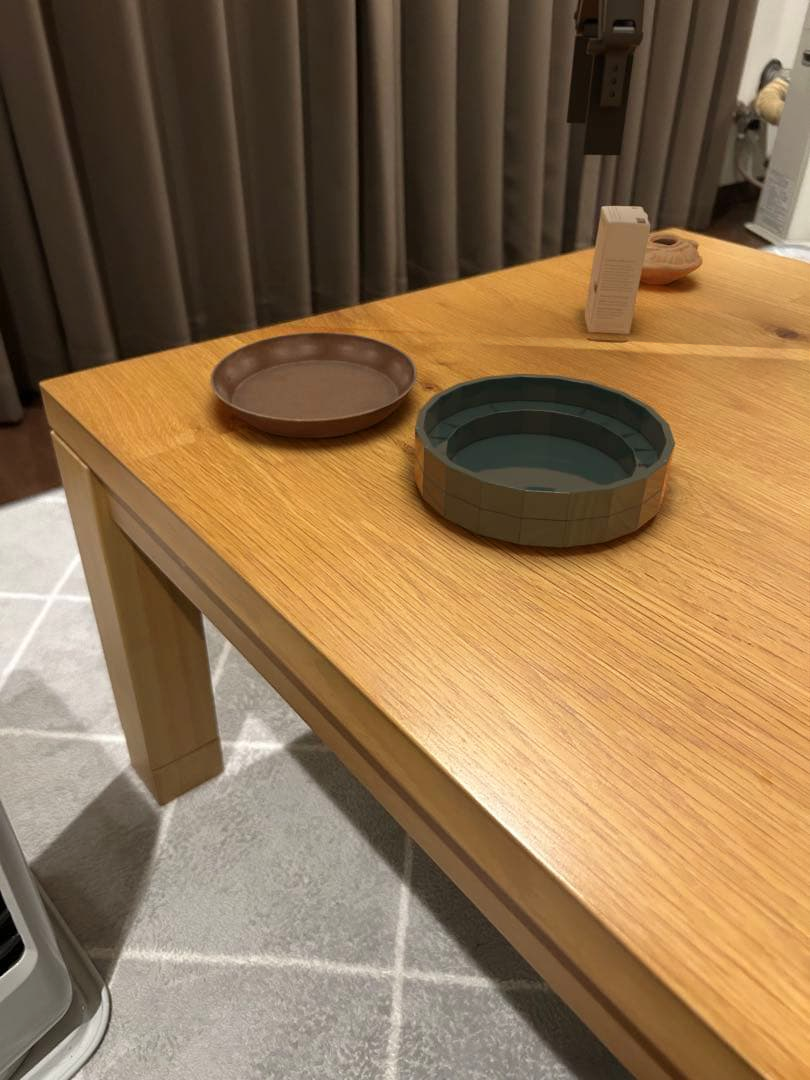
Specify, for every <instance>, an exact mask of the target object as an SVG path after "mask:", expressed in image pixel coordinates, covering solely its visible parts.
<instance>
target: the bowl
mask: <svg viewBox="0 0 810 1080" xmlns="http://www.w3.org/2000/svg"><path fill="white" fill-rule="evenodd" d="M416 416H417V417H416V420H415V421H416V422H415V427H414V457H413V459H414V461H413V463H414V467H413V478H414V481H415V483H416V485H417V488H418V490H419V493H420V495H421V497H422V499H423V501H425V502H426V503H427V504H428V505H430V506H431V507H432V509H434V510H435V511H436V512H437V513H438V514H440V515H441V516H442V517H443V519H445V520H448V521H450V522H452V523H454V524H456V525H458V526H460V527H462V528H464V529H467V530H468V531H470V532H472V533H474V534H477V535H480V536H483V537H487V538H492V539H496V540H500V541H504V542H508V543H512V544H516V545H519V546H520V545H521V546H535V547H547V548H548V547H551V548H570V547H577V546H586V545H594V544H603V543H606V542H610V541H612V540H614V539H617V538H620V537H623V536H626V535H628V534H631V533H634V532H636V531H637V530H639V529H640V528H642V527H643V526H644V525H645V524H647V522H648V521H650V520H651V519H653V517H655V516H656V515H657V514H658V512H659V511H660V507H661V504H662V502H663V499H664V496H665V494H666V490H667V484H668V481H669V480H668V479H669V475H670V469H671V465H672V461H673V456H674V452H675V447H676V441H675V438H674V435H673V432H672V429H671V426H670V423H669V422H668V421H666V420H665V418H664V417H662V416H661V414H659V413H658V411H656V410H655V408H653V407H652V406H651V405H649V404H647V403H646V402H644V401H642V400H640V399H638V398H636V397H635V396H633V395H631V394H630V393H627V392H625V391H622V390H620V389H616V388H615V387H614V388H613V387H610V386H607V385H604V384H602V383H598V382H595V381H592V380H586V379H581V378H576V377H570V376H565V375H557V374H542V373H541V374H540V373H539V374H538V373H511V374H500V375H499V374H498V375H488V376H482V377H479V378H475V379H471V380H468V381H461V382H458V383H456V384H454V385H452V386H450V387H448V388H445V389H444V390H441V391H440V392H437V393H435V394H433V395H432V396H431V397H430V398H429V399H428V400H427V401H426V402H425V403H424V404H423V405H422V406H421V408H419V410H418V412H417V415H416Z"/></svg>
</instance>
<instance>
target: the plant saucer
mask: <svg viewBox="0 0 810 1080" xmlns="http://www.w3.org/2000/svg"><path fill="white" fill-rule="evenodd" d="M417 369H418V368H417V366H416V364H415V362H414V360H413V359H412V358H411V357H410V356H409V355H408V354H407V353H406V352H405V351H403V350H402V349H400V348H398V347H396V346H394V345H392V344H390V343H388V342H385V341H382V340H379V339H376V338H372V337H369V336H368V337H367V336H363V335H358V334H352V333H344V332H329V331H328V332H326V331H325V332H323V331H321V332H317V331H315V332H299V333H298V332H297V333H289V334H283V335H282V334H281V335H276V336H272V337H268V338H263V339H260V340H258V341H254V342H251V343H248V344H246V345H243V346H241V347H239V348H236V349H235V350H233V351H232V352H230V353H228V354H227V355H225V356H224V357H222V359H220V360H219V361H218V362H217V363H216V364H215V366H214V367H213V369H212V371H211V373H210V377H209V384H210V388H211V390H212V391H213V393H214V394H215V396H216V397H217V398H218V399H219V400H220V401H221V403H223V404H224V405H225V406H226V408H228V409H229V411H231V412H232V413H233V414H234V415H235V416H237V417H238V418H239V419H240V420H242V421H243V422H245V423H247V424H248V425H250V426H251V427H253V428H256V429H257V430H260V431H262V432H266V433H269V434H273V435H275V436H281V437H289V438H297V439H323V438H324V439H325V438H333V437H339V436H344V435H350V434H353V433H356V432H359V431H363V430H365V429H368V428H370V427H372V426H375V425H377V424H378V423H380V422H381V421H384V419H386V418H388V416H389V415H391V414H392V413H393V412H394V411H395V410H397V409H398V408H399V406H401V404H402V403H403V402H404V401H405V399H406V398H407V397H408V396H409V394H410V393H411V391H412V390H413V388H414V386H415V384H416V383H417V380H418V370H417Z"/></svg>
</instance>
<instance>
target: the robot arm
mask: <svg viewBox="0 0 810 1080" xmlns="http://www.w3.org/2000/svg"><path fill="white" fill-rule="evenodd" d="M644 11H645V0H576V6H575V11H574V12H573V20H574V30H575V32H576V33H575V36H574V45H573V52H572V53H573V54H572V63H571V64H572V65H571V73H570V83H569V93H568V103H567V113H566V123H567V124H585V125H584V134H583V143H582V150H581V153H582V155H583V156H621V153H622V145H623V137H624V130H625V122H626V116H627V115H626V114H627V110H628V109H627V108H628V101H629V94H630V86H631V79H632V72H633V65H634V58H635V57H634V56H635V55H634V54H635V52H636V50H637V48H638V47H640V46H641V43H642V42H643V39H644V31H643V29H644V13H645V12H644Z"/></svg>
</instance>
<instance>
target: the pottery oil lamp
mask: <svg viewBox="0 0 810 1080" xmlns="http://www.w3.org/2000/svg"><path fill="white" fill-rule="evenodd" d="M699 246H700V243H699V242H697V241H696V240H694V239H689V238H684V237H681V235H678V234H675V233H672V232H664V231H663V232H662V231H661V232H653V233H651V234H649V237H648V242H647V247H646V252H645V257H644V262H643V267H642V272H641V277H640V282H639V283H643V284H647V285H659V286H660V285H663V286H664V285H668V284H671V283H672V282H674V281H676V280H679V279H682V278H684V277H686V276H688V275H690V274H691V273H693V272H695V271H697V270H698V269H700V268H701V266H702V265H703V261H704V260H703V259H704V258H703V257H702V256H701V255H700V253H699V251H698V249H699Z"/></svg>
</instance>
